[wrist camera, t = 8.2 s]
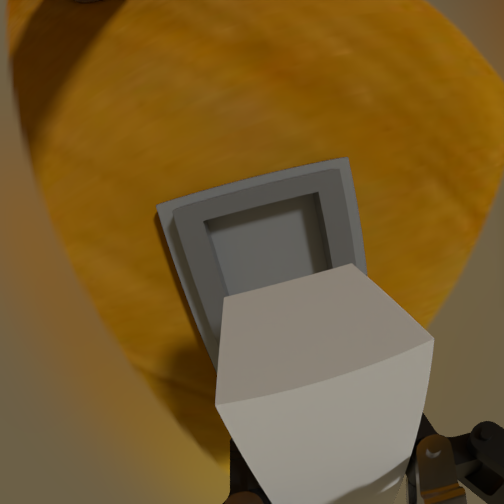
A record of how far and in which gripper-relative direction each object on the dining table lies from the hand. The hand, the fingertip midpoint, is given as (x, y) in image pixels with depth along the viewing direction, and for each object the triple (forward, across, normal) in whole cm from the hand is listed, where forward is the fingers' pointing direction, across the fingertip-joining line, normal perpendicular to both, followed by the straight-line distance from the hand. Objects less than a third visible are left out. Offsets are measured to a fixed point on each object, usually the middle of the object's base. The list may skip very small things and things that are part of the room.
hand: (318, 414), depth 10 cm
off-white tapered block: (+1, 0, 0) cm, 1 cm away
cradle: (+10, 0, 0) cm, 10 cm away
